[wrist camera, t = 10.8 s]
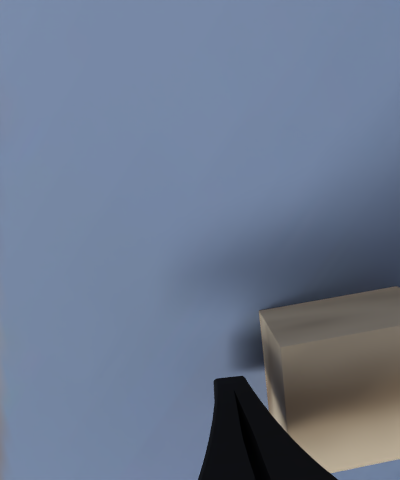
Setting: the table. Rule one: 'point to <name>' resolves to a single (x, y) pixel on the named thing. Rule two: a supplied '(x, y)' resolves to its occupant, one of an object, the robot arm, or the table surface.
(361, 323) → the maple block
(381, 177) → the table surface
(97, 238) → the table surface
